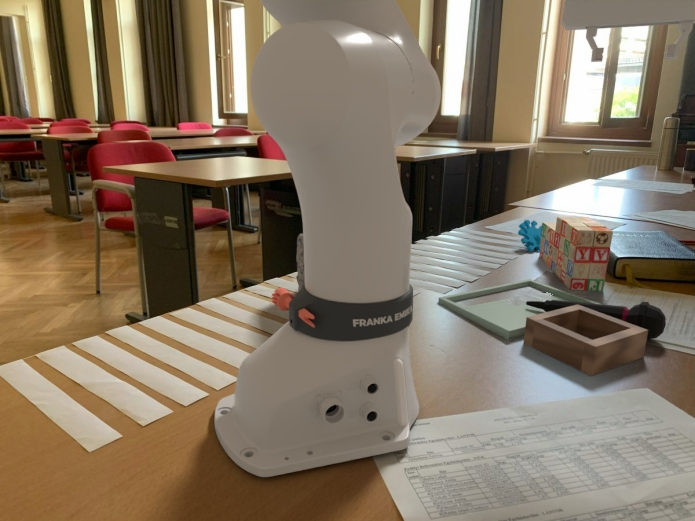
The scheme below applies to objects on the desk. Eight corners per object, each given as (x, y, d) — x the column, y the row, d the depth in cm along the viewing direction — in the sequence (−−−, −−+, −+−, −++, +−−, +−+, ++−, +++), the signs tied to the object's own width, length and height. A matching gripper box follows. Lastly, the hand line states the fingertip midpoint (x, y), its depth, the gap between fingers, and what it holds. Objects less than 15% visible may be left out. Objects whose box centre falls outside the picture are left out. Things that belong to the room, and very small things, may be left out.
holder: (591, 375, 65) (595, 346, 64) (523, 343, 74) (526, 317, 73) (643, 357, 70) (648, 330, 69) (574, 328, 79) (577, 304, 78)
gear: (536, 257, 116) (514, 220, 119) (518, 269, 120) (498, 233, 124) (566, 250, 122) (544, 215, 125) (548, 262, 126) (528, 228, 130)
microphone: (532, 313, 89) (667, 336, 76) (519, 323, 84) (660, 349, 72) (533, 283, 88) (670, 301, 75) (520, 291, 83) (664, 312, 71)
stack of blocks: (537, 262, 116) (543, 208, 113) (566, 263, 116) (573, 208, 112) (569, 293, 96) (577, 228, 92) (603, 295, 95) (613, 229, 92)
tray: (508, 341, 75) (509, 331, 74) (438, 306, 88) (438, 297, 88) (604, 314, 85) (606, 305, 85) (528, 287, 99) (529, 279, 98)
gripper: (733, -51, 69) (713, 59, 73) (568, -35, 77) (557, 64, 80) (747, -66, 63) (725, 54, 67) (567, -47, 71) (556, 60, 75)
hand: (632, 60), depth 74 cm, fingers open, 8 cm apart
